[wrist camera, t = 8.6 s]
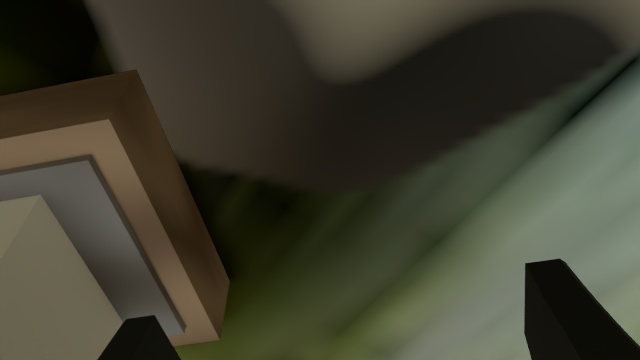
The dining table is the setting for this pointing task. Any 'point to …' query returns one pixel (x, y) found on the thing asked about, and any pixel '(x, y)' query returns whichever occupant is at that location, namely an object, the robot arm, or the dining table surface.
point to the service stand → (117, 199)
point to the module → (47, 290)
